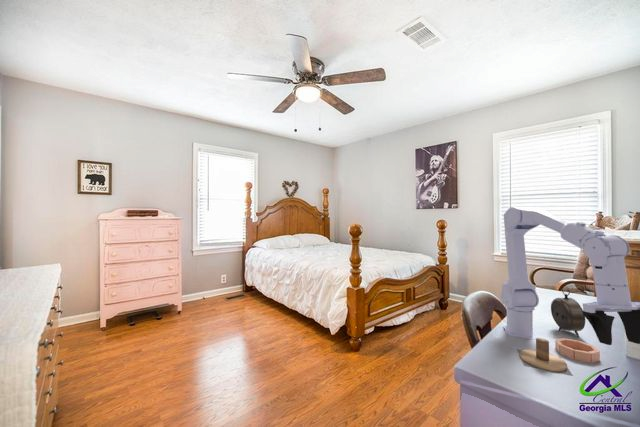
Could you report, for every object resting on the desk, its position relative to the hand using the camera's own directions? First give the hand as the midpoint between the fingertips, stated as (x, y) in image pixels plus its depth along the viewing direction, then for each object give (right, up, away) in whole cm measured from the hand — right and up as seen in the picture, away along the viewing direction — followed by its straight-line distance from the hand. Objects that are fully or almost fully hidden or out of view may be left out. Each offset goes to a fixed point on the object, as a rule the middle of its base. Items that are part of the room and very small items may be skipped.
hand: (620, 343), depth 64 cm
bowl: (+3, -11, +14) cm, 18 cm away
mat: (-10, -11, +10) cm, 18 cm away
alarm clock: (+15, -11, +31) cm, 36 cm away
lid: (-10, -10, +10) cm, 17 cm away
